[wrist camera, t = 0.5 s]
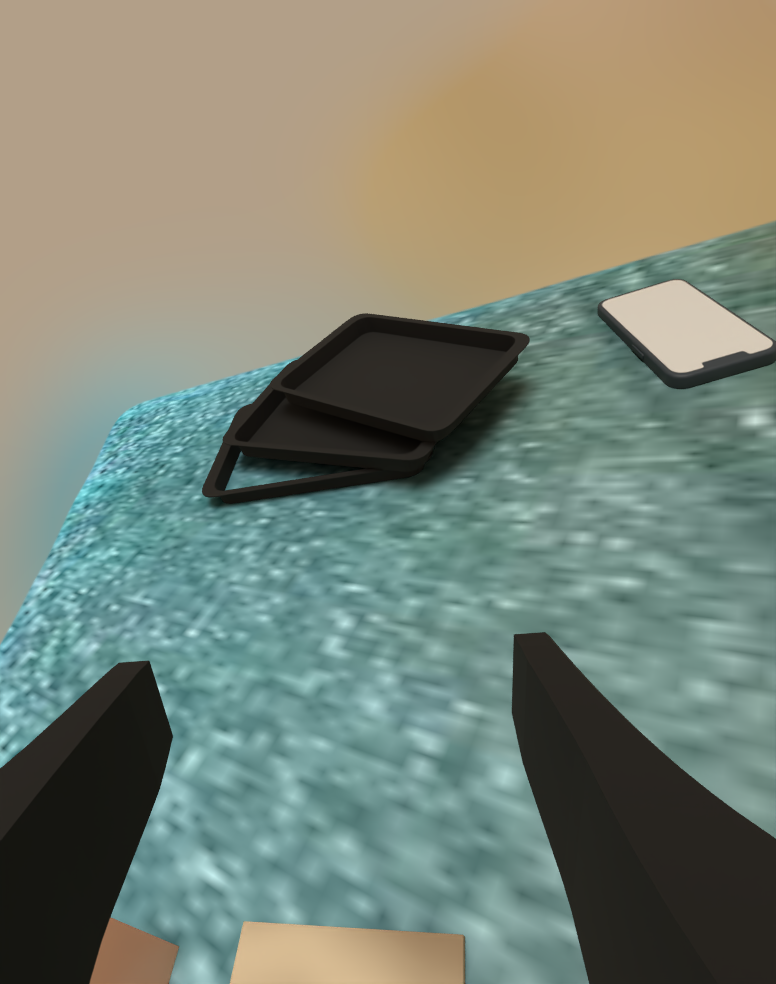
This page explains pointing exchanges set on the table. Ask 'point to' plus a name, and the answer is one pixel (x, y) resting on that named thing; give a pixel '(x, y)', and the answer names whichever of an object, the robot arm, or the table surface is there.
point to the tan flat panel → (346, 956)
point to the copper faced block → (133, 957)
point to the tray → (366, 403)
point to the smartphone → (686, 334)
